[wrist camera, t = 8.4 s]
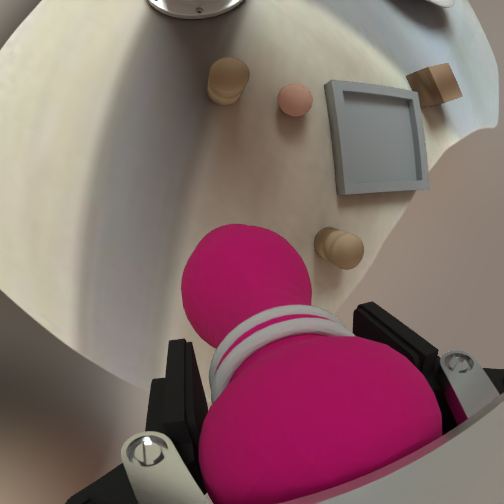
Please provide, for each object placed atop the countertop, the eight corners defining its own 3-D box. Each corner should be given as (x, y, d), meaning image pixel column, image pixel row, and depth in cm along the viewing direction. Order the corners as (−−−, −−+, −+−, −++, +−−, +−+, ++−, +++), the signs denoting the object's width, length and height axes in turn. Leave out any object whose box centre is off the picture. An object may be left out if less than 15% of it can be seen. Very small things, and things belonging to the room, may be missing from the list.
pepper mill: (303, 249, 22) (557, 439, 3) (250, 329, 22) (366, 591, 3) (218, 196, 20) (537, 449, 1) (165, 285, 20) (128, 617, 1)
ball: (272, 89, 29) (281, 78, 25) (303, 89, 29) (315, 79, 26) (276, 119, 30) (285, 112, 26) (307, 119, 30) (320, 112, 27)
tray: (324, 85, 30) (331, 80, 28) (408, 95, 32) (417, 92, 30) (337, 194, 33) (345, 194, 31) (419, 188, 35) (429, 189, 33)
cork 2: (313, 229, 33) (332, 236, 28) (341, 225, 34) (363, 232, 29) (314, 260, 34) (333, 272, 29) (342, 255, 34) (363, 266, 30)
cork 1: (205, 76, 27) (208, 58, 22) (239, 74, 28) (247, 56, 23) (208, 107, 28) (211, 92, 23) (242, 104, 29) (251, 89, 24)
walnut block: (405, 76, 31) (428, 66, 26) (425, 71, 32) (448, 62, 27) (420, 108, 33) (444, 102, 28) (439, 101, 33) (462, 96, 28)
